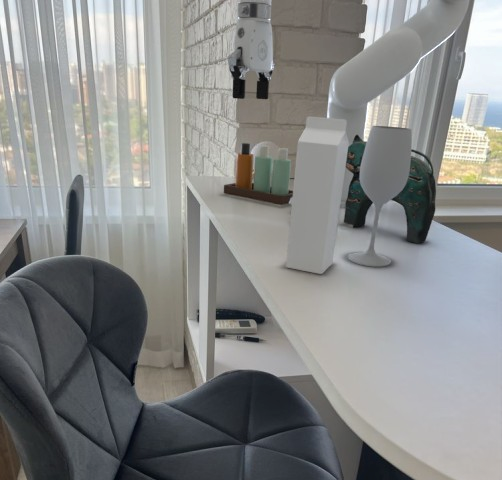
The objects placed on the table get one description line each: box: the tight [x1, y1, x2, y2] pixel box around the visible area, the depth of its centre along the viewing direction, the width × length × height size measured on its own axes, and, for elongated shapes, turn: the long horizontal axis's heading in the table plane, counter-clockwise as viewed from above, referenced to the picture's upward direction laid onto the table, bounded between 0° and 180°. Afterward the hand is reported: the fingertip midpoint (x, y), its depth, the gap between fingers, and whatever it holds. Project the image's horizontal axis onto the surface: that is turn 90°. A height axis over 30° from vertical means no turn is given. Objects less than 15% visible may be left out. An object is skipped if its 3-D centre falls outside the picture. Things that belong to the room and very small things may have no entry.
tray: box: [223, 182, 293, 206], centre depth 127 cm, size 18×9×3 cm, turn 54°
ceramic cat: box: [343, 135, 437, 244], centre depth 100 cm, size 20×6×20 cm, turn 45°
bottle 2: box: [271, 147, 292, 195], centre depth 122 cm, size 4×4×12 cm
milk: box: [285, 115, 349, 275], centre depth 76 cm, size 6×6×22 cm
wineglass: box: [347, 125, 413, 268], centre depth 82 cm, size 8×8×21 cm
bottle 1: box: [253, 145, 273, 193], centre depth 125 cm, size 4×4×12 cm
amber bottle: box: [235, 142, 255, 190], centre depth 128 cm, size 4×4×12 cm
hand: (250, 98), depth 121 cm, fingers open, 9 cm apart
